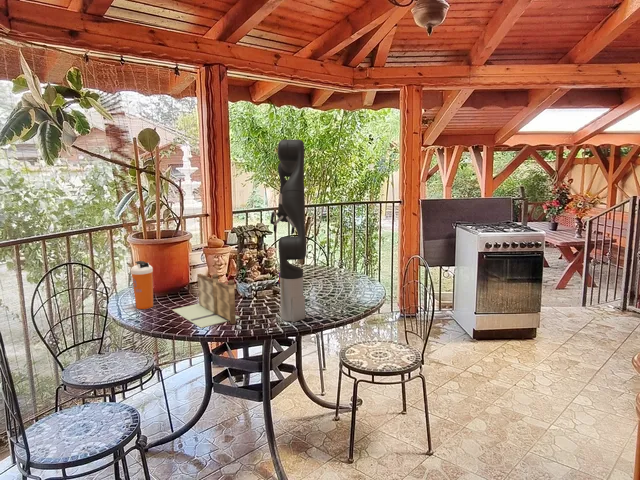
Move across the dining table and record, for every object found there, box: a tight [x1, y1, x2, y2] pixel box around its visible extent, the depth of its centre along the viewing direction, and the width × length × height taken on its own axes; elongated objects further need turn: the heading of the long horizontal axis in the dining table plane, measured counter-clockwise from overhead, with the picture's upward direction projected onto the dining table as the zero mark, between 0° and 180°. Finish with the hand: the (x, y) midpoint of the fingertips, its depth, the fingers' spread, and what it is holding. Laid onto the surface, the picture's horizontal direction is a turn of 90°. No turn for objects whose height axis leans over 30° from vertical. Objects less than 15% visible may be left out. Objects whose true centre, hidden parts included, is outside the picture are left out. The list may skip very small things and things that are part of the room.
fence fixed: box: [211, 273, 237, 325], centre depth 178 cm, size 16×2×17 cm, turn 40°
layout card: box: [171, 303, 241, 329], centre depth 186 cm, size 28×17×1 cm, turn 40°
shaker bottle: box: [130, 260, 154, 310], centre depth 194 cm, size 9×9×20 cm
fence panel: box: [196, 273, 214, 312], centre depth 190 cm, size 14×1×14 cm, turn 40°
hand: (283, 233), depth 228 cm, fingers open, 8 cm apart
